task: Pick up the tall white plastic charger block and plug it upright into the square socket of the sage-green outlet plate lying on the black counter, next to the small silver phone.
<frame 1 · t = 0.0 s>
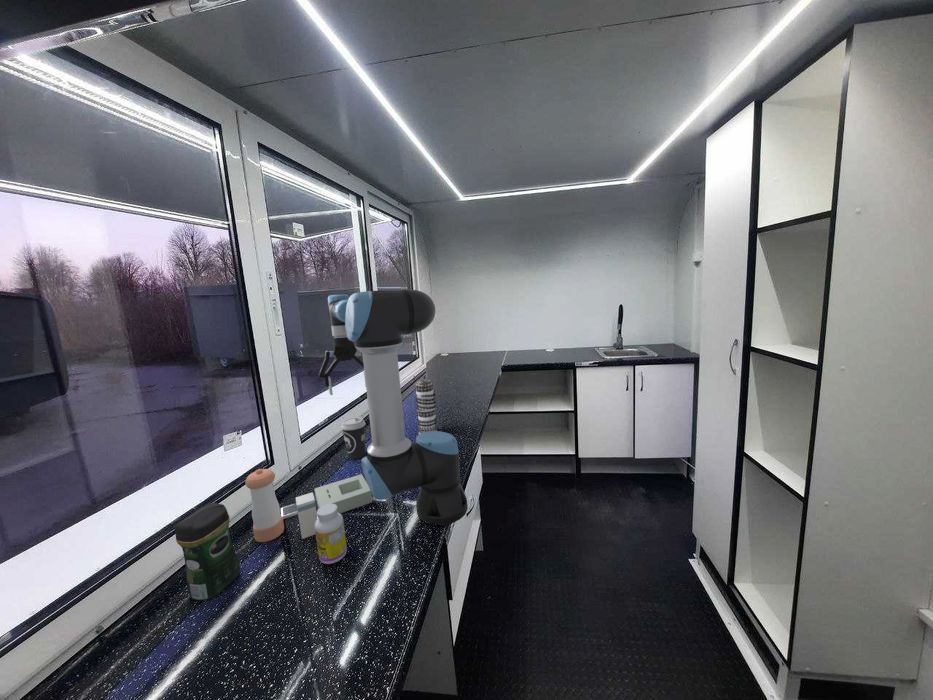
hand: (349, 390, 135), 28 cm above the worktop, fingers open, 13 cm apart
charger: (309, 531, 98), on the worktop
pepper shaker: (269, 533, 98), on the worktop
supplement bottle: (333, 556, 88), on the worktop
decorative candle: (428, 433, 161), on the worktop
phone: (297, 510, 108), on the worktop
outlet plate: (351, 498, 112), on the worktop
coffee jar: (215, 585, 81), on the worktop
coffee cup: (357, 456, 142), on the worktop
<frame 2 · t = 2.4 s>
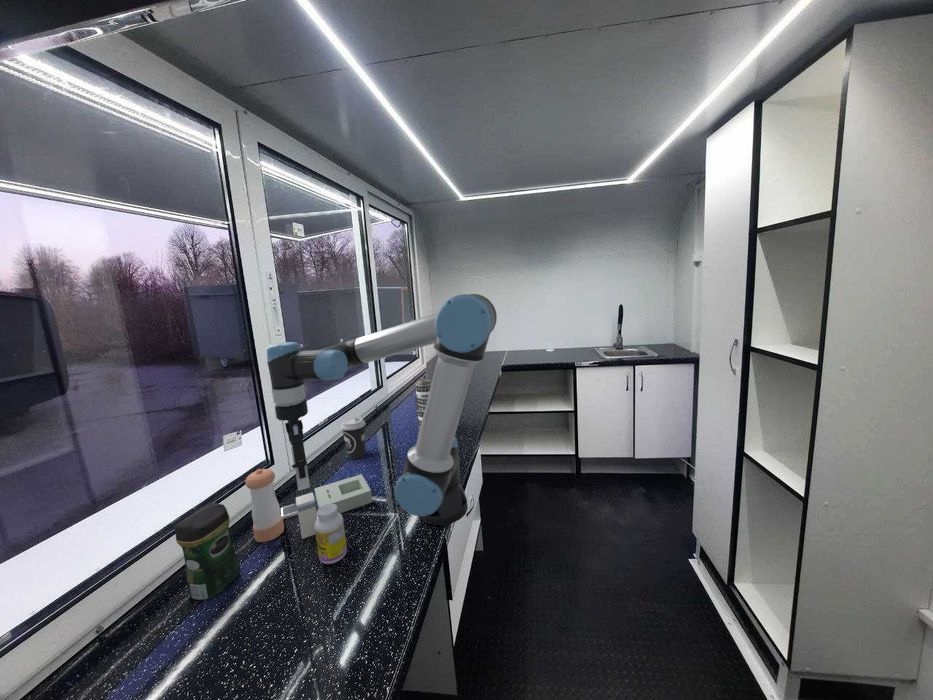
hand: (301, 476, 95), 16 cm above the worktop, fingers open, 13 cm apart
nothing on the worktop moved.
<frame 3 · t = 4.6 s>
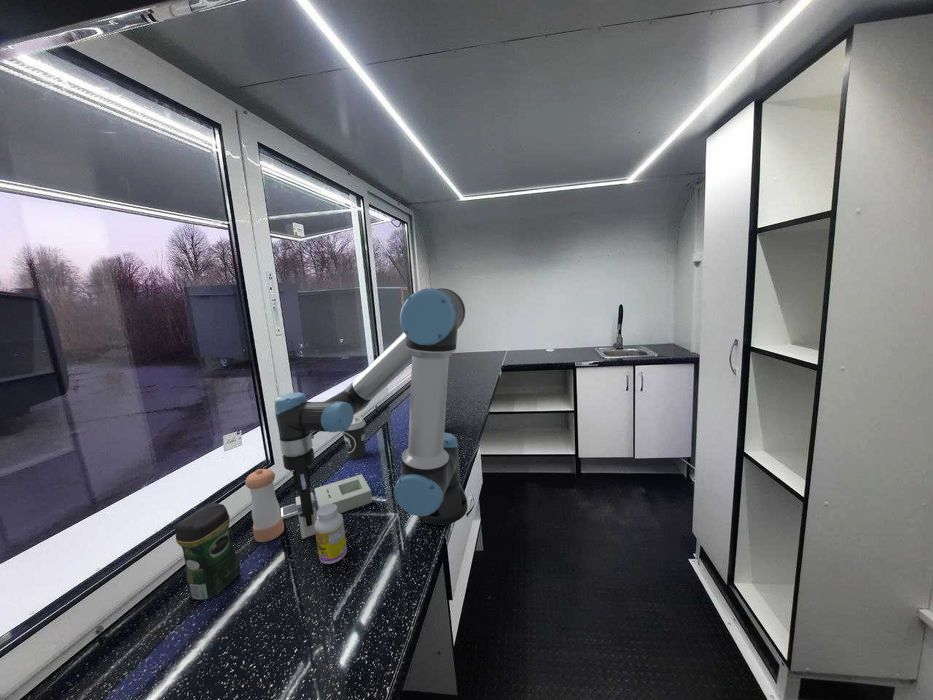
hand: (309, 528, 98), 1 cm above the worktop, fingers closed on charger, 4 cm apart
charger: (309, 531, 98), on the worktop, touching gripper
everything else where it was.
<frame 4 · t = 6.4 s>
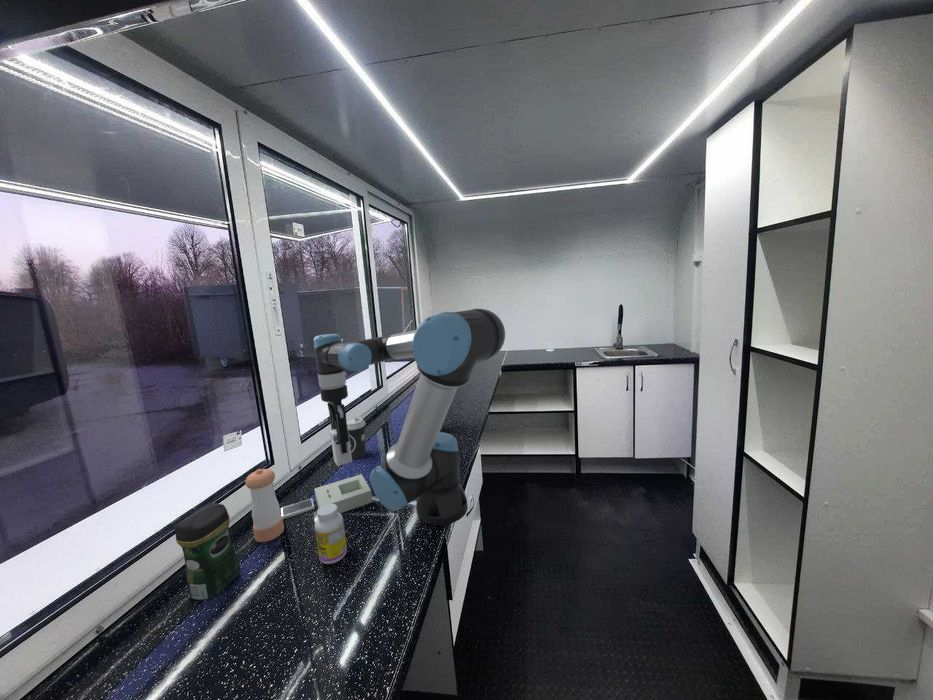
hand: (343, 458, 108), 14 cm above the worktop, fingers closed on charger, 4 cm apart
charger: (343, 461, 108), point 14 cm above the worktop, touching gripper
everything else where it was.
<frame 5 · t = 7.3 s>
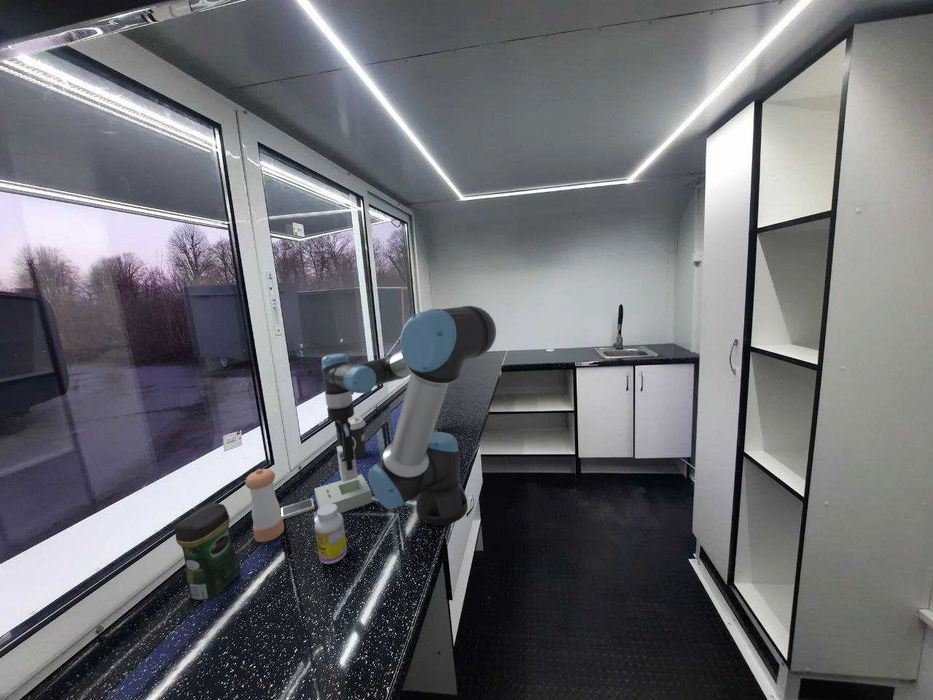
hand: (348, 474, 111), 8 cm above the worktop, fingers closed on charger, 4 cm apart
charger: (348, 476, 111), point 7 cm above the worktop, touching gripper
everything else where it was.
when the fingers open (5 cm above the worktop, at t = 8.2 s): charger drops 4 cm, resting on outlet plate.
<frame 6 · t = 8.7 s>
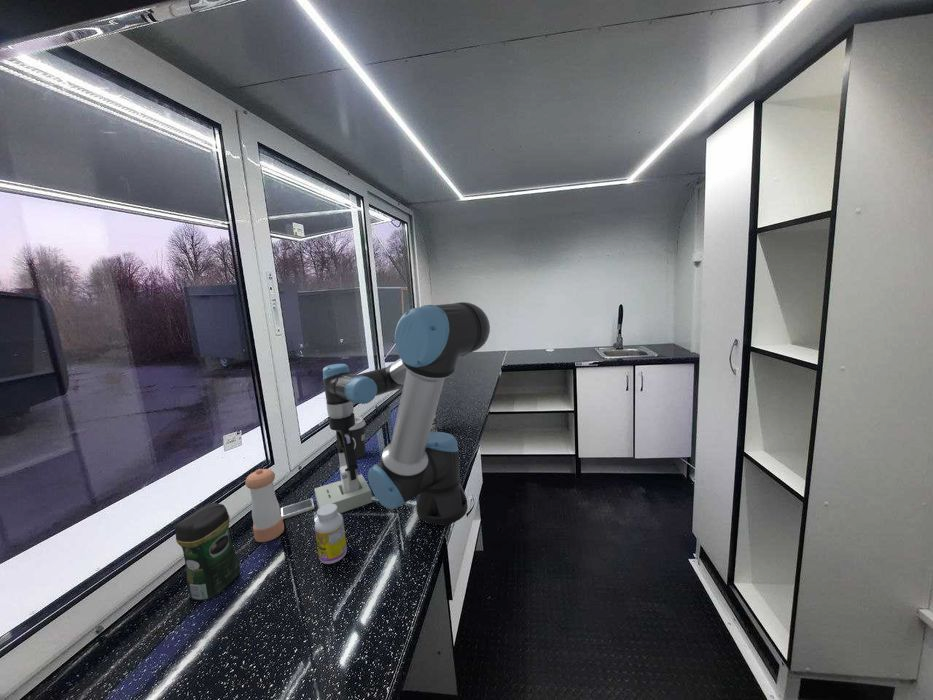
hand: (349, 479, 111), 7 cm above the worktop, fingers open, 12 cm apart
charger: (351, 496, 112), resting on outlet plate
everything else where it was.
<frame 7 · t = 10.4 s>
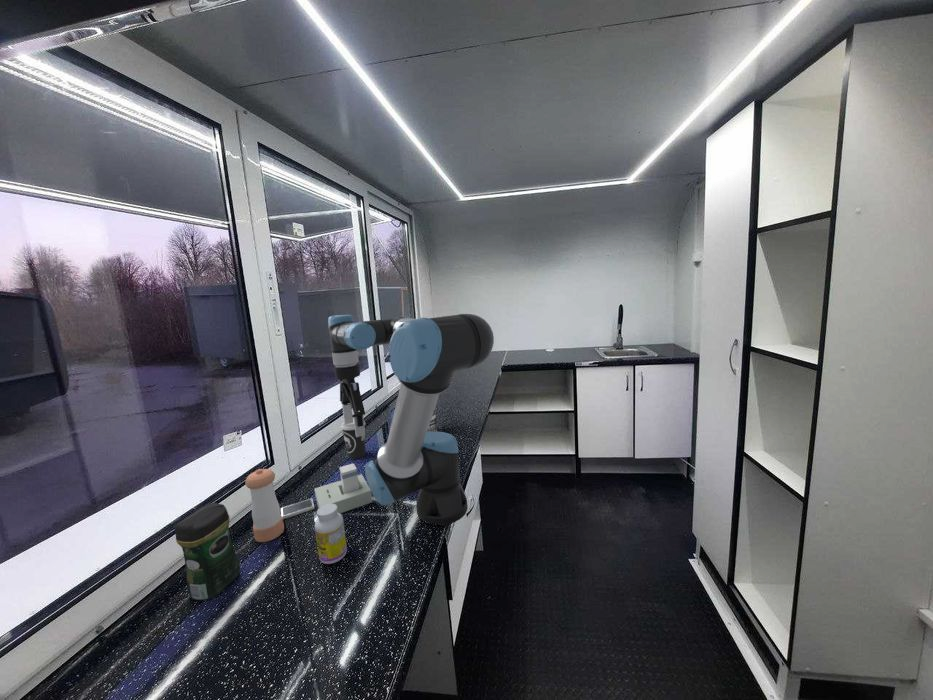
hand: (354, 429, 113), 22 cm above the worktop, fingers open, 13 cm apart
nothing on the worktop moved.
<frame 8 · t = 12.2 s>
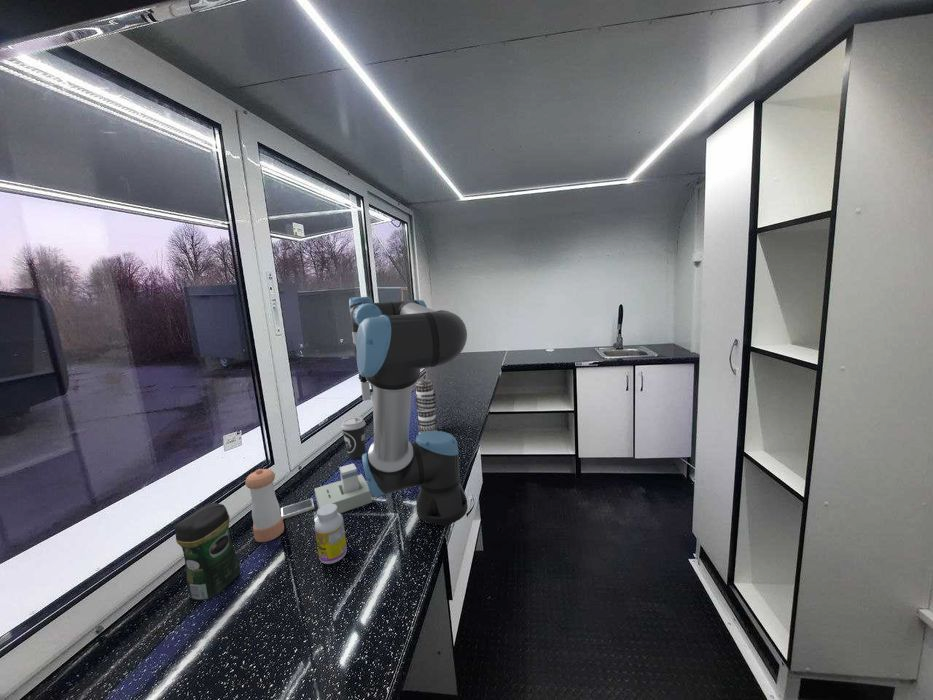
hand: (372, 404, 120), 27 cm above the worktop, fingers open, 13 cm apart
nothing on the worktop moved.
at the end: charger 0.0 cm off-centre on the outlet plate, point 0.5 cm above the outlet plate's base; charger tilted 0°; the gripper is holding nothing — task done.
